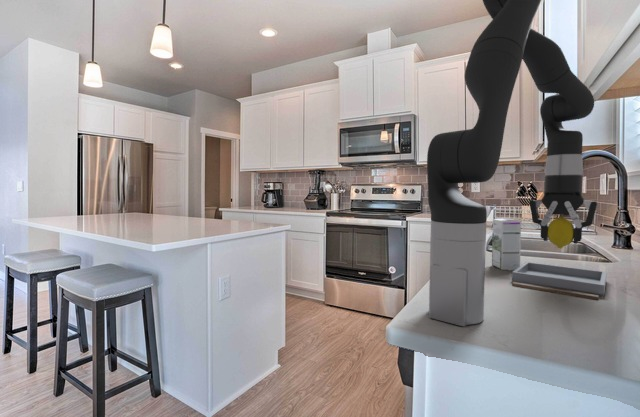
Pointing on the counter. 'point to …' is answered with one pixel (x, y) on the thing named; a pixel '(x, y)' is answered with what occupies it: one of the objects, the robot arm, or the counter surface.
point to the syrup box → (506, 243)
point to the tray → (561, 278)
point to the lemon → (560, 232)
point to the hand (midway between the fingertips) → (560, 241)
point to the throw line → (556, 290)
